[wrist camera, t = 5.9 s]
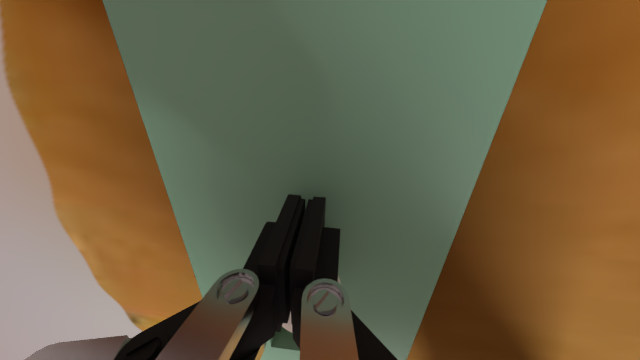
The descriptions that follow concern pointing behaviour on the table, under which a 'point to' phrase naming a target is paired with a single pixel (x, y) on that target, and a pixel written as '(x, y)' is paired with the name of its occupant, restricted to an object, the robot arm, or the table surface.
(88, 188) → the table surface
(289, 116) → the green board
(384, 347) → the robot arm
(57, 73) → the table surface
